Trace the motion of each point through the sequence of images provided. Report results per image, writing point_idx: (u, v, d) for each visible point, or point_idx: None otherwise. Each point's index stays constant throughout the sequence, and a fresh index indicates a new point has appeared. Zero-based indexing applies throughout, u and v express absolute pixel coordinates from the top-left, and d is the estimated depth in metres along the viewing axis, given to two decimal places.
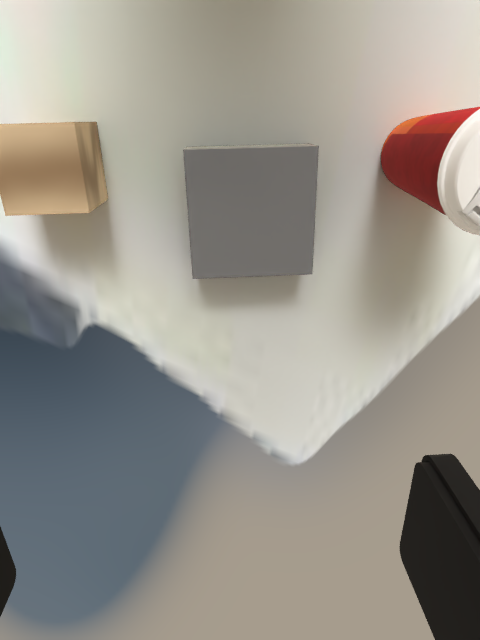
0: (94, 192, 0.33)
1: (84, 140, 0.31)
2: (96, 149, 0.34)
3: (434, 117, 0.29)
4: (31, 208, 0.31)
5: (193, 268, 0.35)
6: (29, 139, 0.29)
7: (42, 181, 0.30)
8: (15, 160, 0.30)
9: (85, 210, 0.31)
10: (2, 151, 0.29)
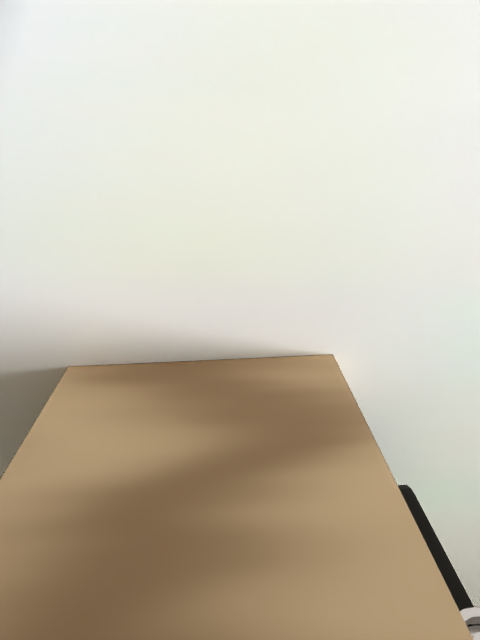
0: None
1: None
2: None
3: None
4: None
5: None
6: None
7: None
8: None
9: None
10: None
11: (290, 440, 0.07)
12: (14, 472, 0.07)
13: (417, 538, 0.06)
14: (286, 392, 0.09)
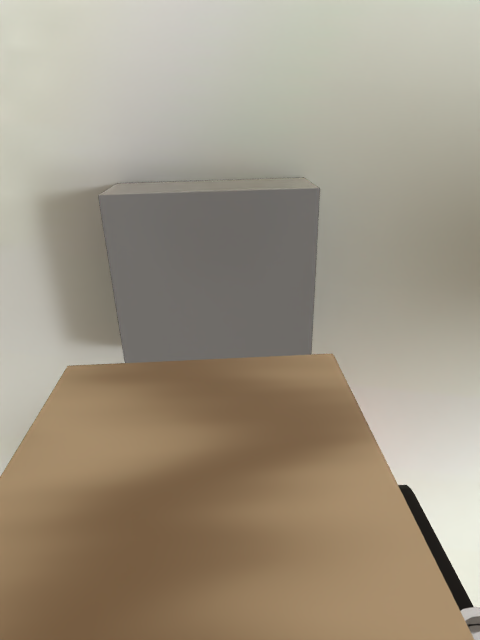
0: None
1: None
2: None
3: None
4: None
5: (118, 197, 0.19)
6: None
7: None
8: None
9: None
10: None
11: (290, 439, 0.07)
12: (13, 471, 0.07)
13: (416, 537, 0.06)
14: (286, 391, 0.09)
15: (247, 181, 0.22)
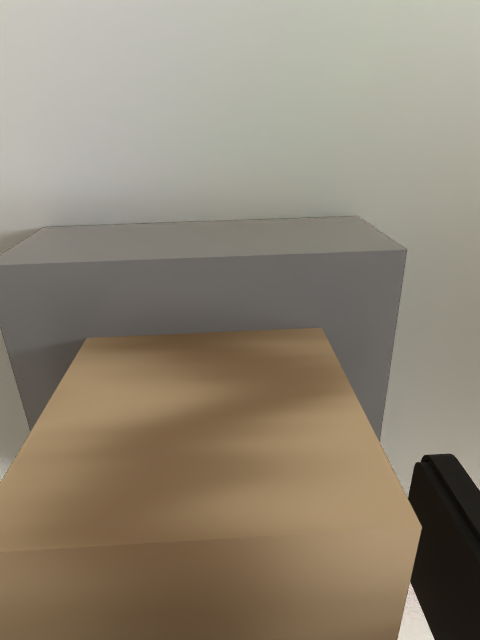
0: None
1: None
2: None
3: None
4: None
5: (22, 269, 0.10)
6: None
7: None
8: (250, 613, 0.06)
9: None
10: (291, 577, 0.06)
11: (282, 392, 0.09)
12: (47, 416, 0.08)
13: (383, 461, 0.07)
14: (279, 357, 0.10)
15: (264, 226, 0.13)
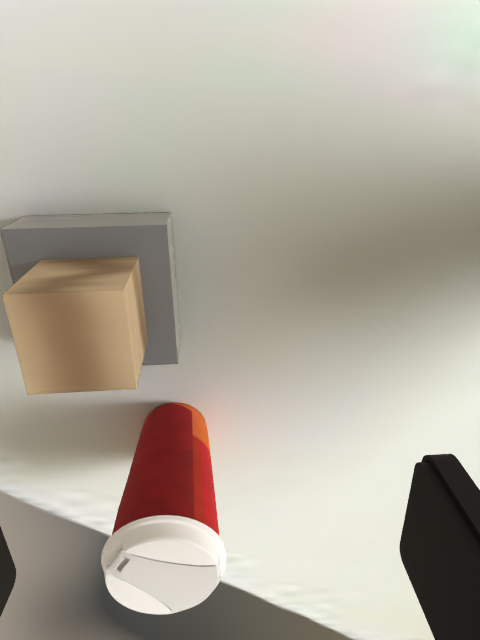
0: None
1: None
2: None
3: (207, 462, 0.32)
4: (19, 328, 0.22)
5: (15, 230, 0.26)
6: (110, 340, 0.23)
7: (60, 347, 0.23)
8: (82, 320, 0.23)
9: (30, 390, 0.24)
10: (91, 307, 0.22)
11: (107, 271, 0.25)
12: (25, 276, 0.24)
13: (125, 282, 0.23)
14: (114, 264, 0.26)
15: (123, 216, 0.29)
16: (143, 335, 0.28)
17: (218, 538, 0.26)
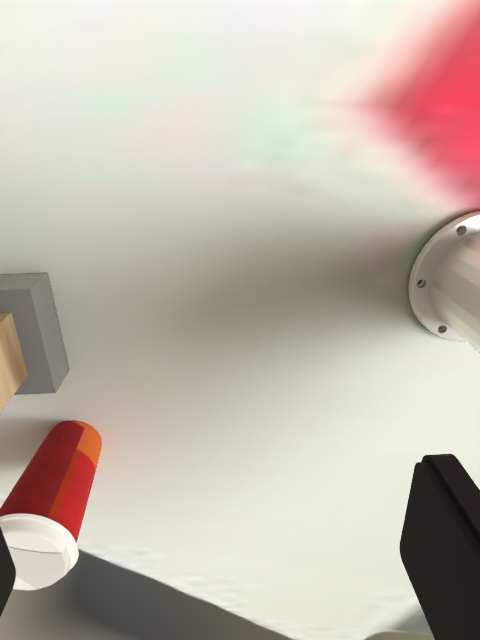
0: None
1: None
2: None
3: (83, 471, 0.40)
4: None
5: None
6: None
7: None
8: None
9: None
10: None
11: None
12: None
13: None
14: None
15: (6, 277, 0.37)
16: (17, 372, 0.36)
17: (66, 532, 0.34)
